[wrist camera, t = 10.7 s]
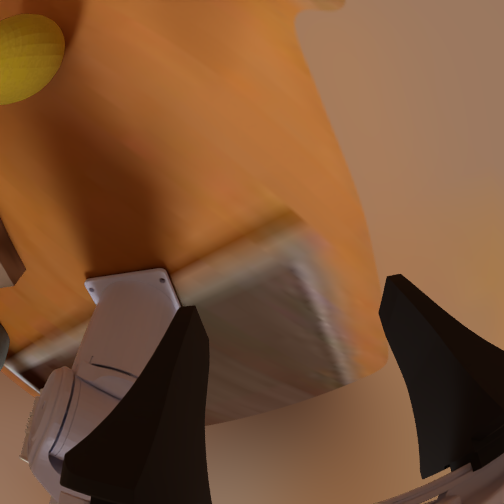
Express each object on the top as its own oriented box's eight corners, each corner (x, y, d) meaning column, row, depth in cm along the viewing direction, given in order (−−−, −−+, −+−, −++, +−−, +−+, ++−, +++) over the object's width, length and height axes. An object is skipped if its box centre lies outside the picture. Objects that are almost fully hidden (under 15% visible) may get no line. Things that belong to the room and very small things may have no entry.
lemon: (18, 48, 10) (-60, 59, 4) (77, 5, 10) (0, -13, 3) (35, 108, 13) (-44, 139, 7) (94, 68, 13) (14, 75, 6)
